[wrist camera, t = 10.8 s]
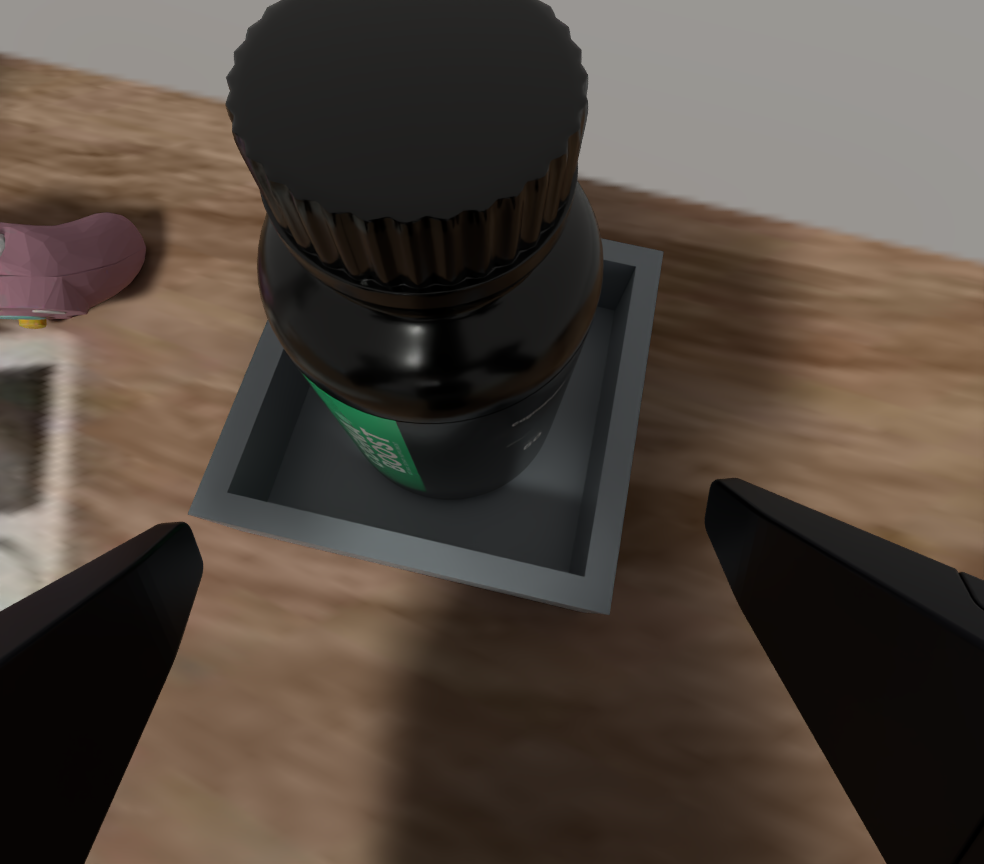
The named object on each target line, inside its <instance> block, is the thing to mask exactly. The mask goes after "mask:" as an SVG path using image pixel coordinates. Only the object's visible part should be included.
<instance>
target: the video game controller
mask: <svg viewBox="0 0 984 864" xmlns="http://www.w3.org/2000/svg"><path fill="white" fill-rule="evenodd" d="M145 253H146V246H145V243H144V240H143V237H142V236H141V234H140V232H139V231H138V229H137V228H136V226H135V225H134V224H133V223H132V222H131V221H129V220H128V219H127V218H125V217H124V216H122V215H118V214H113V213H108V212H106V213H97V214H93V215H90V216H87V217H84V218H81V219H78V220H75V221H72V222H68V223H64V224H60V225H55V226H34V225H22V224H11V223H3V222H0V319H18V320H19V325H20V326H22V327H24V328H31V329H38V328H44V327H46V325H47V323H46V319H68V318H72V316H73V315H83V314H87V313H88V309H89V308H91V307H93V306H95V305H97V304H99V303H101V302H103V301H105V300H107V299H109V298H111V297H113V296H114V295H116V294H117V293H119V292H120V291H121V290H122V289H124V288H125V287H126V286H128V285H129V284H130V283H131V282H132V280H133V279H134V278H135V277H136V275H137V274H138V273H139V272H140V270H141V268H142V265H143V263H144V261H145Z"/></svg>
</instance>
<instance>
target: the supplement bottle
mask: <svg viewBox="0 0 984 864" xmlns="http://www.w3.org/2000/svg"><path fill="white" fill-rule="evenodd" d="M234 62H235V65H234V66H233V68H232V70H231V71H230V72H229V74H228V76H227V77H226V79H227V83H228V86H229V89H230V92H229V95H228V98H227V101H226V109H227V112H228V115H229V117H230V120H231V122H232V133H233V136H234V140H235V143H236V145H237V147H238V149H239V151H240V153H241V155H242V157H243V159H244V161H245V163H246V165H247V166H248V168H249V170H250V172H251V174H252V176H253V178H254V180H255V182H256V183H257V185H258V187H259V189H260V193H261V197H262V201H263V204H264V207H265V209H266V212H267V213H266V216H265V220H264V223H263V226H262V230H261V235H260V240H259V246H258V259H257V273H258V285H259V290H260V296H261V300H262V304H263V307H264V310H265V314H266V316H267V319H268V321H269V323H270V325H271V328H272V330H273V331H274V333H275V335H276V337H277V338H278V340H279V342H280V343H281V345H282V347H283V348H284V350H285V352H286V353H287V355H288V356H289V358H290V359H291V360H292V362H293V363H294V364H295V366H296V367H297V368H298V370H299V371H300V372H301V374H302V375H303V376H304V377H305V379H306V380H307V381H308V383H309V384H310V385H311V387H312V388H313V389H314V391H315V392H316V393H317V395H318V396H319V397H320V399H321V400H322V401H323V402H324V404H325V405H326V406H327V408H328V409H329V410H330V412H331V413H332V414H333V416H334V417H335V418H336V420H337V421H338V422H339V423H340V425H341V426H342V427H343V429H344V430H345V431H346V433H347V434H348V435H349V437H350V438H351V439H352V441H353V442H354V443H355V444H356V446H357V447H358V448H359V450H360V451H361V452H362V454H363V455H364V456H365V457H366V458H367V460H368V461H369V462H370V463H371V464H372V465H373V466H374V467H375V469H376V470H377V471H378V472H380V473H381V474H382V475H383V476H384V477H385V478H387V479H388V480H390V481H391V482H393V483H394V484H395V485H397V486H399V487H401V488H403V489H405V490H407V491H409V492H412V493H414V494H417V495H420V496H424V497H429V498H433V499H442V500H457V499H467V498H472V497H477V496H480V495H484V494H486V493H489V492H492V491H494V490H496V489H498V488H500V487H502V486H504V485H505V484H507V483H509V482H510V481H512V480H513V479H514V478H515V477H517V476H518V475H519V474H520V473H521V472H522V471H524V470H525V469H526V468H527V467H528V465H529V464H530V463H531V462H532V461H533V459H534V458H535V457H536V455H537V454H538V452H539V451H540V449H541V447H542V445H543V444H544V442H545V440H546V437H547V435H548V433H549V431H550V428H551V426H552V424H553V421H554V419H555V416H556V413H557V411H558V408H559V406H560V403H561V401H562V398H563V396H564V393H565V391H566V388H567V386H568V383H569V381H570V378H571V376H572V373H573V370H574V368H575V365H576V363H577V360H578V358H579V355H580V353H581V350H582V348H583V345H584V343H585V340H586V338H587V335H588V333H589V330H590V327H591V325H592V322H593V319H594V316H595V312H596V309H597V305H598V302H599V298H600V294H601V289H602V283H603V270H604V259H603V246H602V241H601V235H600V231H599V227H598V224H597V221H596V217H595V215H594V212H593V210H592V207H591V205H590V203H589V200H588V198H587V197H586V195H585V193H584V191H583V190H582V188H581V186H580V184H579V183H578V181H577V177H578V157H579V152H580V148H581V143H582V139H583V134H584V130H585V125H586V120H587V114H588V100H587V97H586V95H587V89H588V74H587V73H586V71H585V69H584V68H583V66H582V64H581V49H580V48H579V47H578V46H577V45H576V44H575V43H574V42H573V41H572V40H571V37H570V31H569V27H568V26H567V25H565V24H564V23H562V22H561V21H560V20H558V19H557V18H556V17H555V14H554V12H553V10H552V8H551V7H550V6H549V5H547V4H545V3H543V2H541V1H539V0H281V1H279V2H277V3H275V4H273V5H271V6H269V7H267V9H266V11H265V13H264V14H263V16H262V19H260V20H259V21H258V22H256V23H255V24H253V25H252V26H250V27H249V28H248V30H247V34H246V40H245V41H244V42H243V44H241V45H240V46H239V47H238V48H237V49H236V50H235V51H234Z"/></svg>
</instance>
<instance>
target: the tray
mask: <svg viewBox="0 0 984 864" xmlns="http://www.w3.org/2000/svg"><path fill="white" fill-rule="evenodd" d="M601 241H602V246H603V259H604V270H603V283H602V289H601V294H600V298H599V302H598V305H597V309H596V312H595V316H594V319H593V322H592V325H591V327H590V330H589V333H588V335H587V338H586V340H585V343H584V345H583V348H582V350H581V353H580V355H579V358H578V360H577V363H576V365H575V368H574V370H573V373H572V376H571V378H570V381H569V383H568V386H567V388H566V391H565V393H564V396H563V398H562V401H561V403H560V406H559V408H558V411H557V413H556V416H555V419H554V421H553V424H552V426H551V428H550V431H549V433H548V435H547V437H546V440H545V442H544V444H543V445H542V447H541V449H540V451H539V452H538V454H537V455H536V457H535V458H534V459H533V461H532V462H531V463H530V464H529V465H528V467H527V468H526V469H525V470H524V471H522V472H521V473H520V474H519V475H518V476H517V477H515V478H514V479H513V480H512V481H510V482H509V483H507V484H505V485H504V486H502V487H500V488H498V489H496V490H494V491H492V492H489V493H486V494H484V495H480V496H477V497H472V498H467V499H457V500H442V499H433V498H429V497H424V496H420V495H417V494H414V493H412V492H409V491H407V490H405V489H403V488H401V487H399V486H397V485H395V484H394V483H393V482H391V481H390V480H388V479H387V478H385V477H384V476H383V475H382V474H381V473H380V472H378V471H377V470H376V469H375V467H374V466H373V465H372V464H371V463H370V462H369V461H368V460H367V458H366V457H365V456H364V455H363V454H362V452H361V451H360V450H359V448H358V447H357V446H356V444H355V443H354V442H353V441H352V439H351V438H350V437H349V435H348V434H347V433H346V431H345V430H344V429H343V427H342V426H341V425H340V423H339V422H338V421H337V420H336V418H335V417H334V416H333V414H332V413H331V412H330V410H329V409H328V408H327V406H326V405H325V404H324V402H323V401H322V400H321V399H320V397H319V396H318V395H317V393H316V392H315V391H314V389H313V388H312V387H311V385H310V384H309V383H308V381H307V380H306V379H305V377H304V376H303V375H302V374H301V372H300V371H299V370H298V368H297V367H296V366H295V364H294V363H293V362H292V360H291V359H290V358H289V356H288V355H287V353H286V352H285V350H284V348H283V347H282V345H281V343H280V342H279V340H278V338H277V337H276V335H275V333H274V331H273V330H272V328H271V325H270V323H269V321H268V320H267V323H266V325H265V328H264V330H263V333H262V335H261V337H260V340H259V342H258V345H257V347H256V350H255V352H254V354H253V357H252V359H251V362H250V364H249V367H248V369H247V371H246V374H245V376H244V379H243V381H242V384H241V386H240V388H239V391H238V393H237V396H236V398H235V401H234V403H233V405H232V408H231V410H230V413H229V415H228V418H227V420H226V422H225V425H224V427H223V430H222V432H221V435H220V437H219V439H218V442H217V444H216V447H215V449H214V452H213V454H212V456H211V459H210V461H209V464H208V466H207V469H206V471H205V473H204V476H203V478H202V481H201V483H200V486H199V488H198V490H197V493H196V495H195V498H194V500H193V503H192V505H191V507H190V510H189V512H188V515H192V516H195V517H198V518H201V519H205V520H208V521H211V522H214V523H218V524H221V525H224V526H227V527H231V528H234V529H237V530H240V531H244V532H248V533H252V534H256V535H261V536H265V537H269V538H273V539H277V540H281V541H286V542H290V543H294V544H298V545H302V546H307V547H311V548H315V549H319V550H323V551H328V552H332V553H336V554H340V555H344V556H348V557H353V558H357V559H361V560H365V561H369V562H374V563H378V564H382V565H386V566H390V567H395V568H399V569H403V570H407V571H411V572H415V573H420V574H424V575H428V576H432V577H436V578H441V579H445V580H449V581H453V582H457V583H462V584H466V585H470V586H474V587H478V588H482V589H487V590H491V591H495V592H499V593H503V594H508V595H512V596H516V597H520V598H524V599H529V600H533V601H537V602H541V603H545V604H549V605H554V606H558V607H562V608H566V609H570V610H575V611H579V612H583V613H594V614H605V615H610V608H611V601H612V595H613V588H614V581H615V574H616V568H617V561H618V554H619V547H620V541H621V534H622V527H623V520H624V514H625V507H626V500H627V494H628V487H629V480H630V473H631V467H632V460H633V453H634V446H635V440H636V433H637V426H638V419H639V413H640V406H641V399H642V392H643V386H644V379H645V372H646V365H647V359H648V352H649V345H650V339H651V332H652V325H653V318H654V312H655V305H656V298H657V291H658V285H659V278H660V271H661V264H662V258H663V251H659V250H654V249H650V248H645V247H640V246H635V245H630V244H626V243H621V242H616V241H611V240H606V239H602V238H601Z"/></svg>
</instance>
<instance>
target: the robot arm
mask: <svg viewBox="0 0 984 864" xmlns="http://www.w3.org/2000/svg"><path fill="white" fill-rule="evenodd" d="M705 528H706V531H707V534H708V536H709V538H710V541H711V543H712V545H713V548H714V550H715V552H716V555H717V557H718V559H719V562H720V564H721V566H722V568H723V571H724V573H725V575H726V578H727V580H728V582H729V585H730V587H731V589H732V591H733V594H734V596H735V598H736V600H737V602H738V604H739V606H740V608H741V610H742V612H743V614H744V615H745V617H746V619H747V621H748V623H749V624H750V626H751V628H752V630H753V631H754V633H755V635H756V637H757V638H758V640H759V642H760V643H761V645H762V647H763V649H764V650H765V652H766V654H767V656H768V657H769V659H770V661H771V663H772V664H773V666H774V668H775V670H776V671H777V673H778V675H779V677H780V678H781V680H782V682H783V684H784V685H785V687H786V689H787V691H788V692H789V694H790V696H791V698H792V699H793V701H794V703H795V705H796V706H797V708H798V710H799V712H800V713H801V715H802V717H803V719H804V720H805V722H806V724H807V726H808V727H809V729H810V731H811V733H812V734H813V736H814V738H815V740H816V741H817V743H818V745H819V747H820V748H821V750H822V752H823V753H824V755H825V757H826V759H827V760H828V762H829V764H830V766H831V767H832V769H833V771H834V773H835V774H836V776H837V778H838V780H839V781H840V783H841V785H842V787H843V788H844V790H845V792H846V794H847V795H848V797H849V799H850V801H851V802H852V804H853V806H854V808H855V809H856V811H857V813H858V815H859V816H860V818H861V820H862V822H863V823H864V825H865V827H866V829H867V830H868V832H869V834H870V836H871V837H872V839H873V841H874V843H875V844H876V846H877V848H878V850H879V851H880V853H881V855H882V856H883V858H884V860H885V862H886V863H887V864H984V580H981V579H979V578H977V577H974V576H972V575H969V574H967V573H965V572H959V573H958V571H957V570H956V569H955V568H952V567H950V566H948V565H945V564H943V563H940V562H938V561H936V560H933V559H931V558H928V557H926V556H924V555H921V554H919V553H916V552H914V551H912V550H909V549H907V548H904V547H902V546H900V545H897V544H895V543H892V542H890V541H888V540H885V539H883V538H880V537H878V536H876V535H873V534H871V533H868V532H866V531H864V530H861V529H859V528H856V527H854V526H852V525H849V524H847V523H844V522H842V521H840V520H837V519H835V518H832V517H830V516H828V515H825V514H823V513H820V512H818V511H816V510H813V509H811V508H808V507H806V506H804V505H801V504H799V503H796V502H794V501H792V500H789V499H787V498H784V497H782V496H780V495H777V494H775V493H772V492H770V491H768V490H765V489H763V488H760V487H758V486H756V485H753V484H751V483H748V482H746V481H744V480H741V479H738V478H727V479H717V480H715V481H713V482H712V484H711V486H710V490H709V496H708V502H707V508H706V513H705ZM202 574H203V560H202V557H201V554H200V552H199V549H198V546H197V543H196V541H195V538H194V535H193V532H192V530H191V528H190V526H189V525H188V524H187V523H185V522H171V523H161V524H158V525H155V526H154V527H152V528H150V529H148V530H146V531H145V532H143V533H141V534H139V535H137V536H136V537H134V538H132V539H130V540H128V541H127V542H125V543H123V544H121V545H119V546H118V547H116V548H114V549H112V550H110V551H109V552H107V553H105V554H103V555H101V556H100V557H98V558H96V559H94V560H92V561H91V562H89V563H87V564H85V565H83V566H82V567H80V568H78V569H76V570H74V571H73V572H71V573H69V574H67V575H65V576H64V577H62V578H60V579H58V580H56V581H54V582H53V583H51V584H49V585H47V586H45V587H44V588H42V589H40V590H38V591H36V592H35V593H33V594H31V595H29V596H27V597H26V598H24V599H22V600H20V601H18V602H17V603H15V604H13V605H11V606H9V607H8V608H6V609H4V610H2V611H0V864H85V861H86V859H87V857H88V855H89V852H90V850H91V848H92V845H93V843H94V841H95V839H96V836H97V834H98V832H99V830H100V827H101V825H102V823H103V821H104V818H105V816H106V814H107V812H108V809H109V807H110V805H111V803H112V800H113V798H114V796H115V794H116V791H117V789H118V787H119V785H120V782H121V780H122V778H123V776H124V773H125V771H126V769H127V767H128V764H129V762H130V760H131V758H132V755H133V753H134V751H135V749H136V746H137V744H138V742H139V740H140V737H141V735H142V733H143V730H144V728H145V726H146V724H147V721H148V719H149V717H150V715H151V712H152V710H153V708H154V706H155V703H156V701H157V699H158V697H159V694H160V692H161V690H162V688H163V685H164V683H165V681H166V679H167V676H168V674H169V672H170V669H171V667H172V665H173V662H174V660H175V657H176V655H177V652H178V649H179V646H180V643H181V640H182V637H183V634H184V631H185V628H186V625H187V621H188V618H189V615H190V612H191V609H192V606H193V603H194V600H195V596H196V593H197V590H198V587H199V584H200V581H201V578H202Z"/></svg>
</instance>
